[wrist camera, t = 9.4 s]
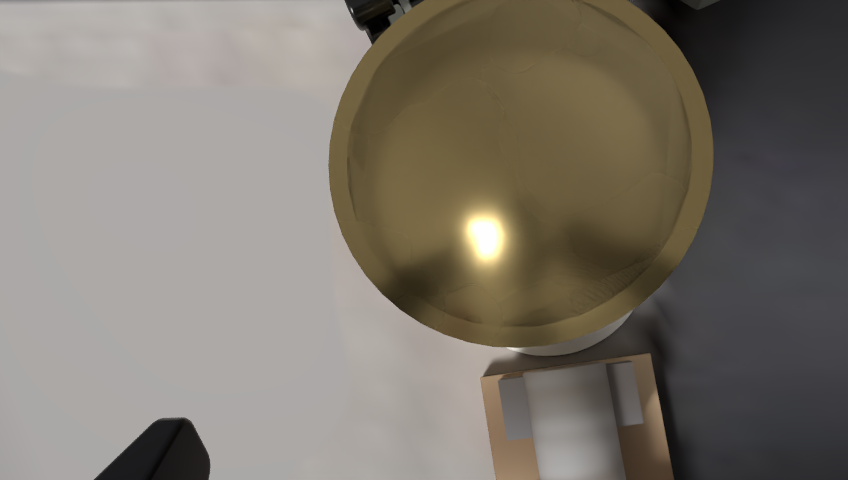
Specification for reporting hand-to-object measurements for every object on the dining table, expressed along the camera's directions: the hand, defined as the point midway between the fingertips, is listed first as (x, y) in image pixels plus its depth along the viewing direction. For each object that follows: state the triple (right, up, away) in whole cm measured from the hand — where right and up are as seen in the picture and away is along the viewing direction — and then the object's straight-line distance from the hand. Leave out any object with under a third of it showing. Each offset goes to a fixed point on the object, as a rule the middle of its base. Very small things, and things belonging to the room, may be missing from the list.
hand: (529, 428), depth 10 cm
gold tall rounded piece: (+2, +2, +13) cm, 13 cm away
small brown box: (+3, -4, +12) cm, 13 cm away
